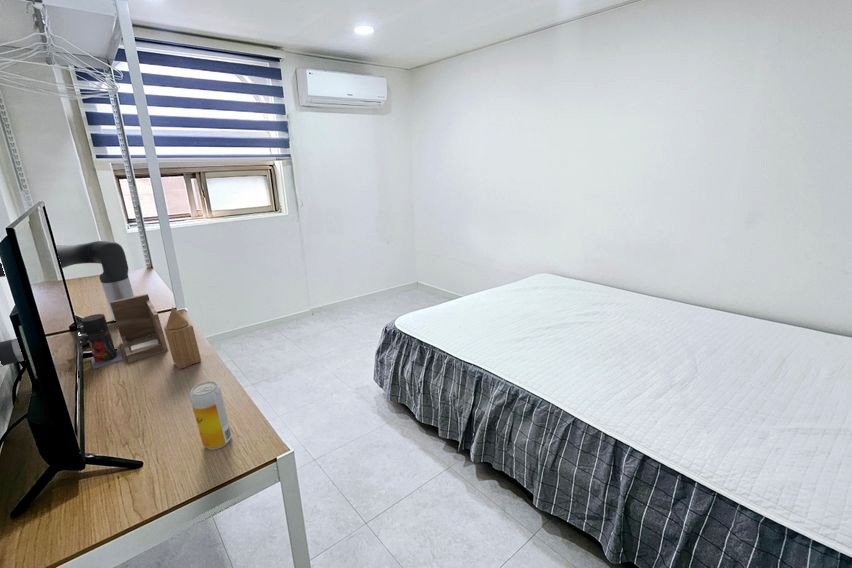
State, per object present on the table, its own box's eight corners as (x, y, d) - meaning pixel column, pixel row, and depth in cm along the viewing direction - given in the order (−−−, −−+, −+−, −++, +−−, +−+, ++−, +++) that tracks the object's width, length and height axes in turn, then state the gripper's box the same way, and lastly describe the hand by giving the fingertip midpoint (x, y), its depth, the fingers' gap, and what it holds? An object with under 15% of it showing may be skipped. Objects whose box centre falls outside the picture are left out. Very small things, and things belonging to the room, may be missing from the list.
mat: (91, 359, 134) (91, 357, 133) (120, 351, 139) (119, 349, 138) (92, 369, 127) (92, 367, 127) (123, 360, 132) (122, 358, 132)
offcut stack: (132, 354, 136) (130, 346, 135) (159, 346, 141) (157, 338, 140) (133, 358, 133) (131, 350, 132) (161, 350, 138) (159, 342, 137)
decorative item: (173, 363, 129) (157, 307, 123) (195, 355, 134) (181, 300, 127) (179, 370, 125) (164, 312, 118) (202, 361, 129) (188, 305, 123)
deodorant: (121, 354, 135) (109, 314, 130) (106, 363, 129) (92, 321, 125) (105, 353, 136) (92, 313, 131) (90, 362, 130) (76, 321, 125)
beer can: (210, 434, 96) (196, 381, 91) (236, 432, 96) (223, 379, 91) (198, 452, 90) (183, 397, 85) (226, 450, 90) (212, 394, 85)
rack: (122, 341, 145) (109, 301, 140) (158, 332, 152) (147, 293, 147) (128, 362, 131) (114, 318, 125) (168, 350, 138) (156, 308, 132)
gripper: (30, 342, 114) (100, 325, 124) (33, 327, 124) (98, 312, 134) (39, 364, 116) (108, 346, 126) (42, 348, 127) (105, 332, 137)
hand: (103, 328), depth 130 cm, fingers open, 8 cm apart
